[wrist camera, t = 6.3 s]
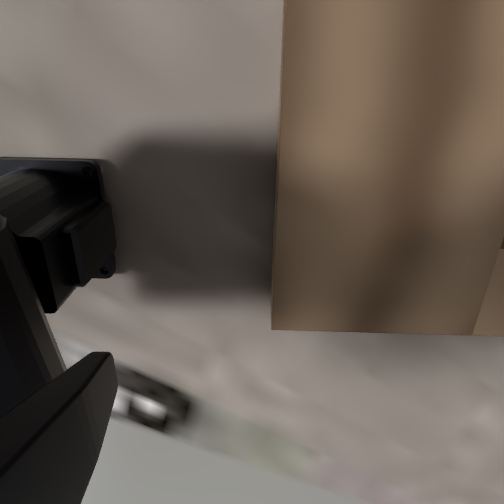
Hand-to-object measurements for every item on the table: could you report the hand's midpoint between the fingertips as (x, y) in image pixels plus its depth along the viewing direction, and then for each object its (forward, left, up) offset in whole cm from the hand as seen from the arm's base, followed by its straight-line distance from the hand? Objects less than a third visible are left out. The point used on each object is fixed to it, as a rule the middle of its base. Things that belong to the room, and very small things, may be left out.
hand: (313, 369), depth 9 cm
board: (+9, +1, -12) cm, 15 cm away
